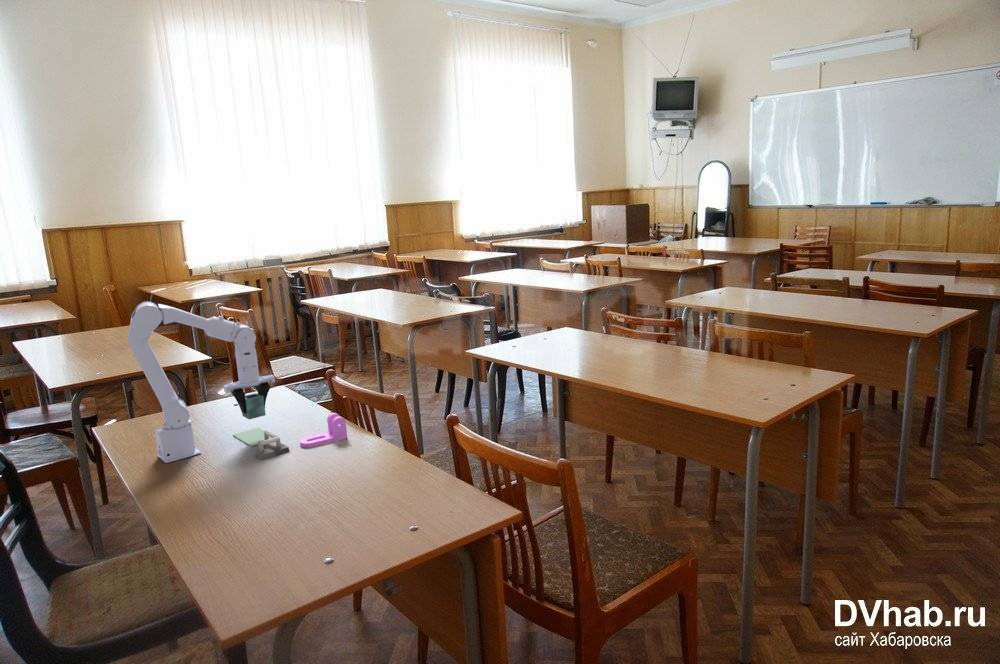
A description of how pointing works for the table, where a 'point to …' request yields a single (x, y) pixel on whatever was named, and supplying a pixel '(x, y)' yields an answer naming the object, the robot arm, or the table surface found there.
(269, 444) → the bar handle
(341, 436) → the bracket
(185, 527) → the table surface
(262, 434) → the end mat
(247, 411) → the collar
